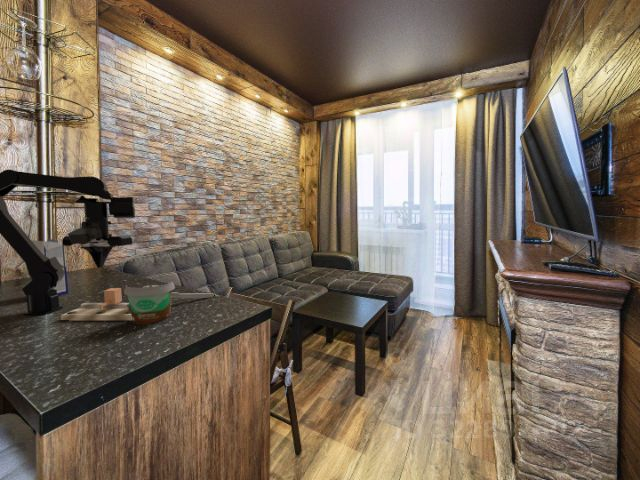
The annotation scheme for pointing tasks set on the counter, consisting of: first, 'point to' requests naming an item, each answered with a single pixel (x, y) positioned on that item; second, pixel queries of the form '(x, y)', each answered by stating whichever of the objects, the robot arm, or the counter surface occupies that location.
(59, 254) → the milk carton
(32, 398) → the counter surface
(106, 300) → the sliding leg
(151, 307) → the food container
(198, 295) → the caliper
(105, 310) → the hole plate
